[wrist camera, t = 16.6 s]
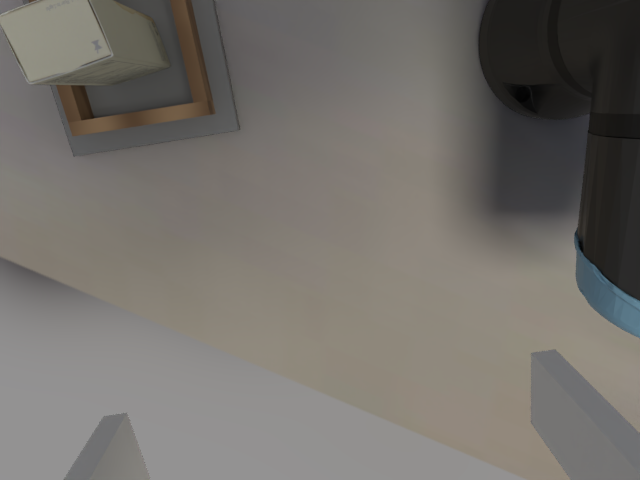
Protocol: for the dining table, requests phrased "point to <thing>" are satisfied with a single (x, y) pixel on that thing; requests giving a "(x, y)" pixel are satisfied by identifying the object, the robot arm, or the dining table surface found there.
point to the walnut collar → (203, 105)
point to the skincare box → (82, 42)
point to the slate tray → (162, 87)
